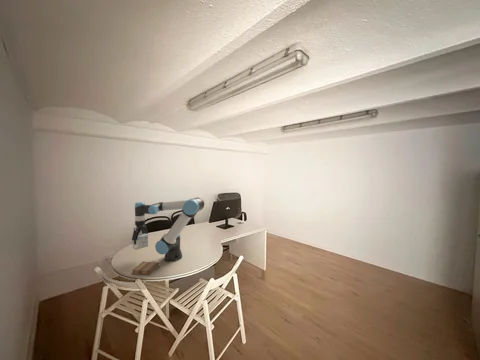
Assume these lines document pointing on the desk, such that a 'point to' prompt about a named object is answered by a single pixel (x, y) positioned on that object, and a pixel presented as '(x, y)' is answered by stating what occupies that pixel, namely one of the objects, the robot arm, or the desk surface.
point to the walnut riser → (145, 268)
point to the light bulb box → (142, 241)
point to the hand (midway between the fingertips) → (140, 245)
